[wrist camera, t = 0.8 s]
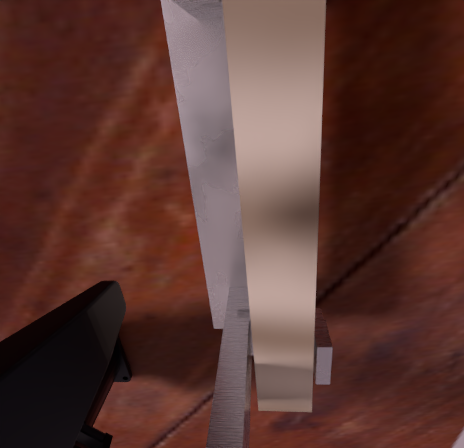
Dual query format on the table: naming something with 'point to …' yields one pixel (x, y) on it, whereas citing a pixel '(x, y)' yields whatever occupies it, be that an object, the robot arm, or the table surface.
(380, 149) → the table surface
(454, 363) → the table surface
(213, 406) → the standards
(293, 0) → the rail
